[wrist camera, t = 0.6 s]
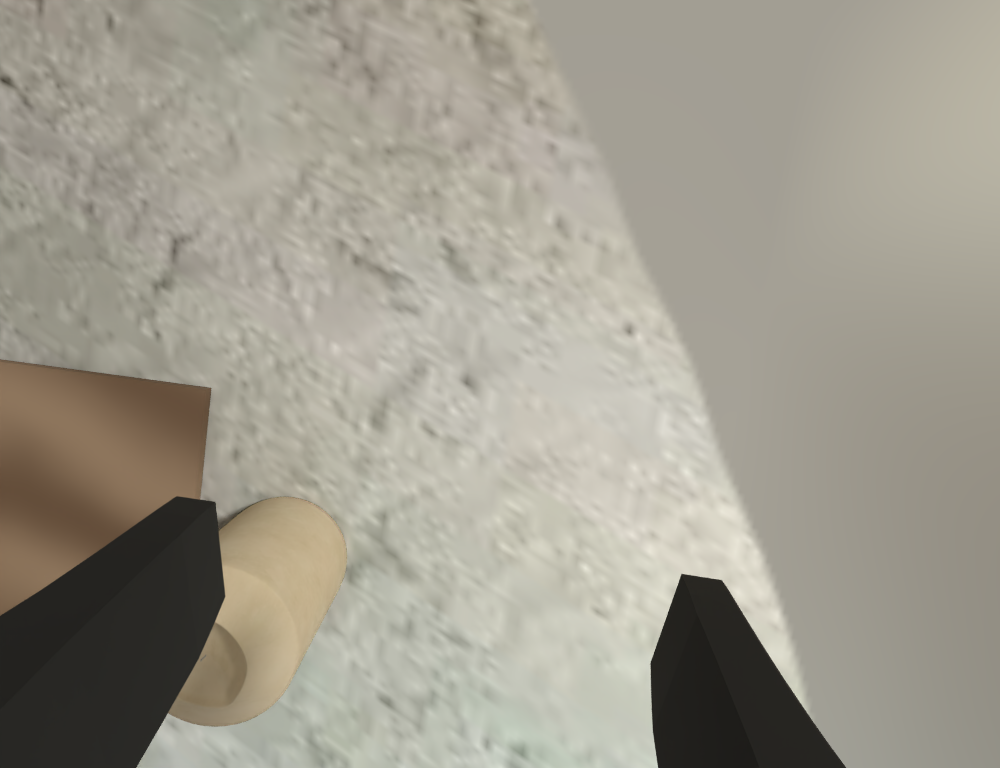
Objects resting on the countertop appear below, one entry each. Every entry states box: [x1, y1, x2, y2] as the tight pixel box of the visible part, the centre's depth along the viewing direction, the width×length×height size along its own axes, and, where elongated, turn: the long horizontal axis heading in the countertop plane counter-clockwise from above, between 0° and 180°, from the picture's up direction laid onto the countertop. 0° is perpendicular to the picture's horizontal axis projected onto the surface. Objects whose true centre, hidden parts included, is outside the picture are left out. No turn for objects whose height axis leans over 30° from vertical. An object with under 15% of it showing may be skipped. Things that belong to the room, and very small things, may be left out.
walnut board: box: [0, 360, 211, 615], centre depth 30 cm, size 13×12×1 cm
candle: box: [168, 497, 347, 726], centre depth 26 cm, size 6×6×10 cm
